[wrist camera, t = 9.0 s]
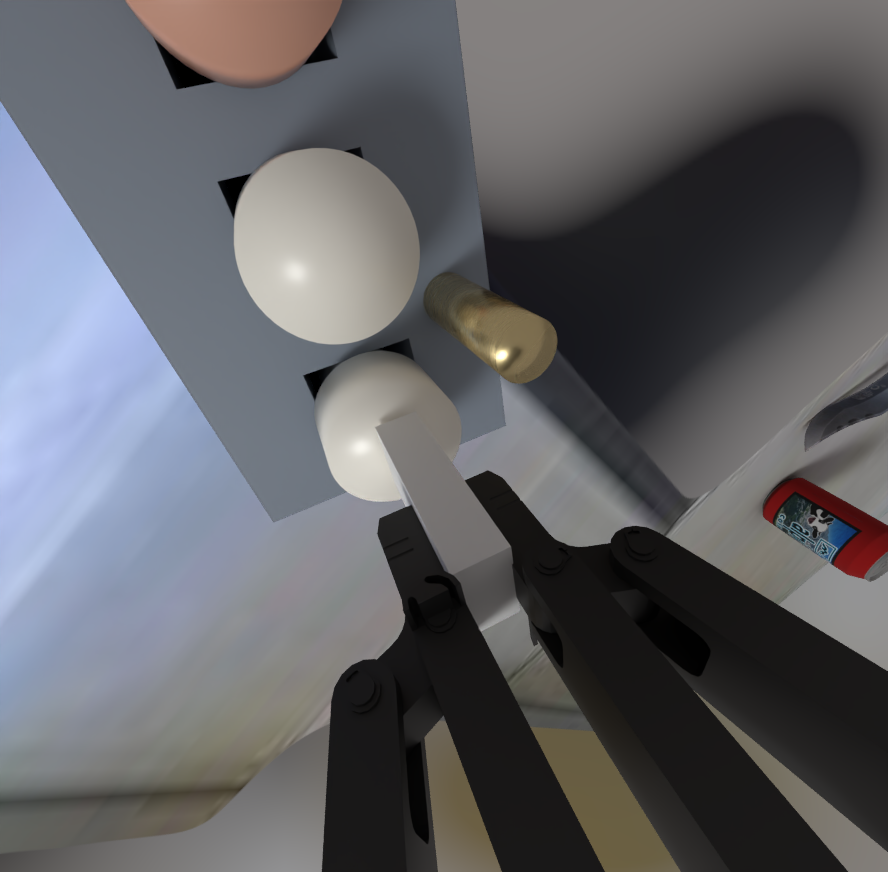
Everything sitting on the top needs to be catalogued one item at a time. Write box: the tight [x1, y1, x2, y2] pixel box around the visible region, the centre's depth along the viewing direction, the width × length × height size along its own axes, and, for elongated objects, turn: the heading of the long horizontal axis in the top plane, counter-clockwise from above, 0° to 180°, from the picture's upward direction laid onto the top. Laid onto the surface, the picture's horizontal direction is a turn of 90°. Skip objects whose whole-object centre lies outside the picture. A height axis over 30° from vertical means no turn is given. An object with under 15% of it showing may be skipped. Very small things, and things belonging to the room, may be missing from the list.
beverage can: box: [763, 478, 888, 582], centre depth 50 cm, size 7×7×12 cm
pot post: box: [423, 272, 557, 383], centre depth 15 cm, size 2×2×6 cm
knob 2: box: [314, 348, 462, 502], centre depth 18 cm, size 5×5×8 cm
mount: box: [0, 0, 506, 522], centre depth 16 cm, size 12×21×6 cm, turn 11°
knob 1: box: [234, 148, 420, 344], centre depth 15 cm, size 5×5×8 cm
